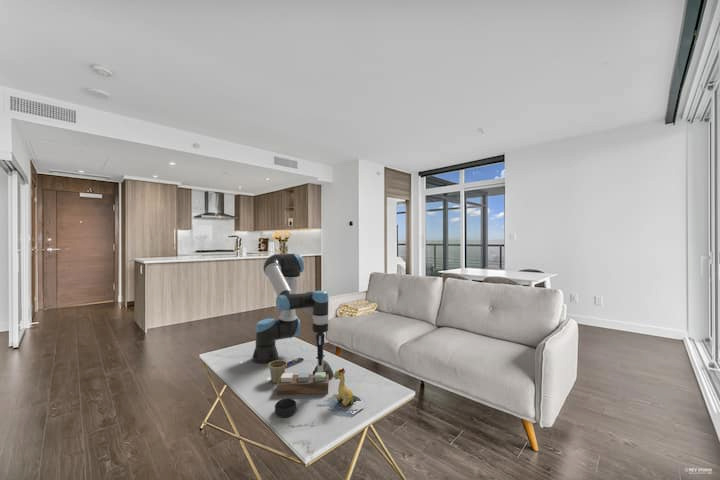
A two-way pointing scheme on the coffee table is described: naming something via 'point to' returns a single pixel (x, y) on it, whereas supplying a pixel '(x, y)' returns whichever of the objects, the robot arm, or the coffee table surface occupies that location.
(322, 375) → the sage green key
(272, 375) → the flower pot
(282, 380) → the cream key
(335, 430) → the coffee table surface
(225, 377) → the coffee table surface
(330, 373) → the fossil
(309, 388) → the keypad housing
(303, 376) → the slate grey key
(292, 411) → the smart speaker
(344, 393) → the stuffed giraffe
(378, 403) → the coffee table surface
